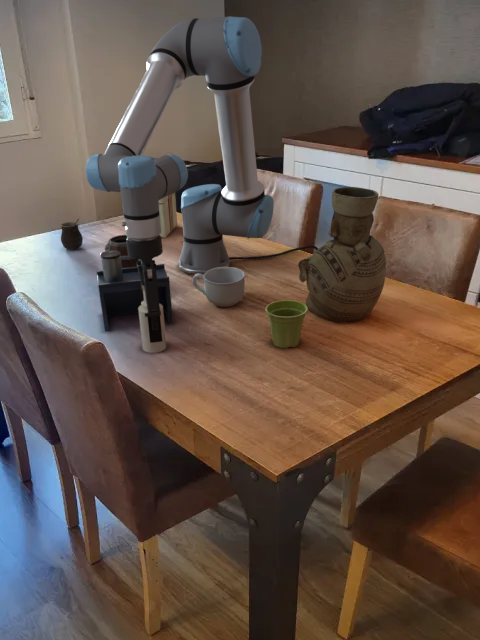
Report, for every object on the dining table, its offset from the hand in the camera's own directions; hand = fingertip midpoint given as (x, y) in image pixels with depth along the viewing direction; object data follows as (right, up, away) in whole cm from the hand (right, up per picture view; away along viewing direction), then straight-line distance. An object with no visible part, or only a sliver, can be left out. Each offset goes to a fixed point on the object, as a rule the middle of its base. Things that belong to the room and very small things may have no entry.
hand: (153, 329), depth 146 cm
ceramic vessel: (+46, +6, +14) cm, 49 cm away
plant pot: (+31, -3, +2) cm, 31 cm away
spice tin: (-10, +14, +9) cm, 20 cm away
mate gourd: (-32, +37, +67) cm, 83 cm away
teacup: (+16, +11, +23) cm, 30 cm away
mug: (-11, +16, +33) cm, 39 cm away
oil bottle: (0, -4, +2) cm, 4 cm away
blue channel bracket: (-5, +5, +16) cm, 18 cm away
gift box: (-7, +46, +78) cm, 91 cm away
